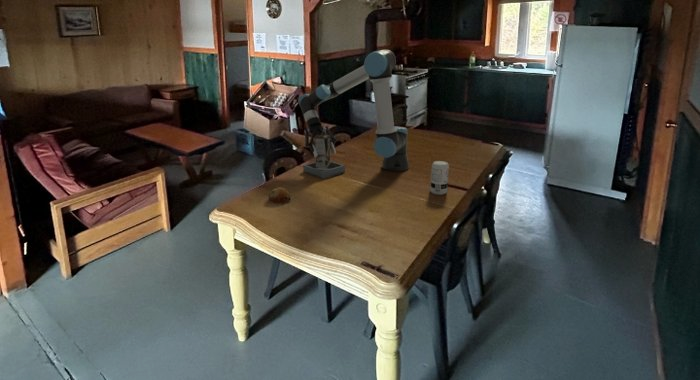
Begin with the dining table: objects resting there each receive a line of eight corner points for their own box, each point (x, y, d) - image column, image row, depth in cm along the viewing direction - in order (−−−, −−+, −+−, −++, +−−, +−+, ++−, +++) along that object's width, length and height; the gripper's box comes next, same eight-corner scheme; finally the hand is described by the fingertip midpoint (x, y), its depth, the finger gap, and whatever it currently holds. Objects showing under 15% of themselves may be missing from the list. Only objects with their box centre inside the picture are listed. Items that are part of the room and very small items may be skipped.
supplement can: (428, 189, 248) (430, 160, 242) (444, 188, 248) (446, 160, 243) (432, 195, 240) (434, 165, 235) (448, 194, 241) (451, 165, 236)
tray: (344, 172, 271) (344, 165, 270) (322, 179, 261) (322, 172, 259) (325, 165, 282) (325, 159, 281) (303, 172, 272) (303, 165, 270)
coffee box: (327, 168, 265) (326, 139, 260) (315, 167, 267) (314, 138, 261) (331, 163, 274) (330, 134, 268) (319, 162, 275) (319, 133, 269)
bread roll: (282, 202, 240) (276, 187, 240) (297, 198, 234) (290, 182, 233) (268, 209, 233) (262, 193, 232) (282, 205, 226) (276, 188, 226)
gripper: (329, 121, 281) (342, 155, 274) (291, 126, 270) (304, 161, 263) (333, 114, 275) (346, 148, 268) (295, 118, 264) (308, 154, 257)
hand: (325, 155), depth 265 cm, fingers closed on coffee box, 10 cm apart
